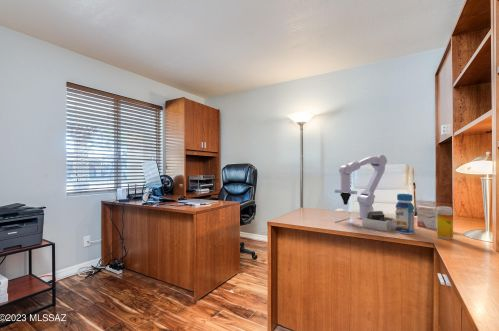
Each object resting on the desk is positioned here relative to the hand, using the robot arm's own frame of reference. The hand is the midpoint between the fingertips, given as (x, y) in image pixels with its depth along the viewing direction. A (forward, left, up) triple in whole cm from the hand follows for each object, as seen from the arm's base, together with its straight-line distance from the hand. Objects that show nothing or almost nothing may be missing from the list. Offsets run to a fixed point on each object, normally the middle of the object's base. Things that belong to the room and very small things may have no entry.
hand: (345, 204), depth 158 cm
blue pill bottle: (+6, +36, -10) cm, 38 cm away
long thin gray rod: (+4, 0, -10) cm, 11 cm away
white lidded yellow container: (+3, +52, -10) cm, 53 cm away
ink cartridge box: (-17, +40, -10) cm, 45 cm away
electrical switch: (+5, +21, -10) cm, 23 cm away
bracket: (+4, +22, -10) cm, 24 cm away
